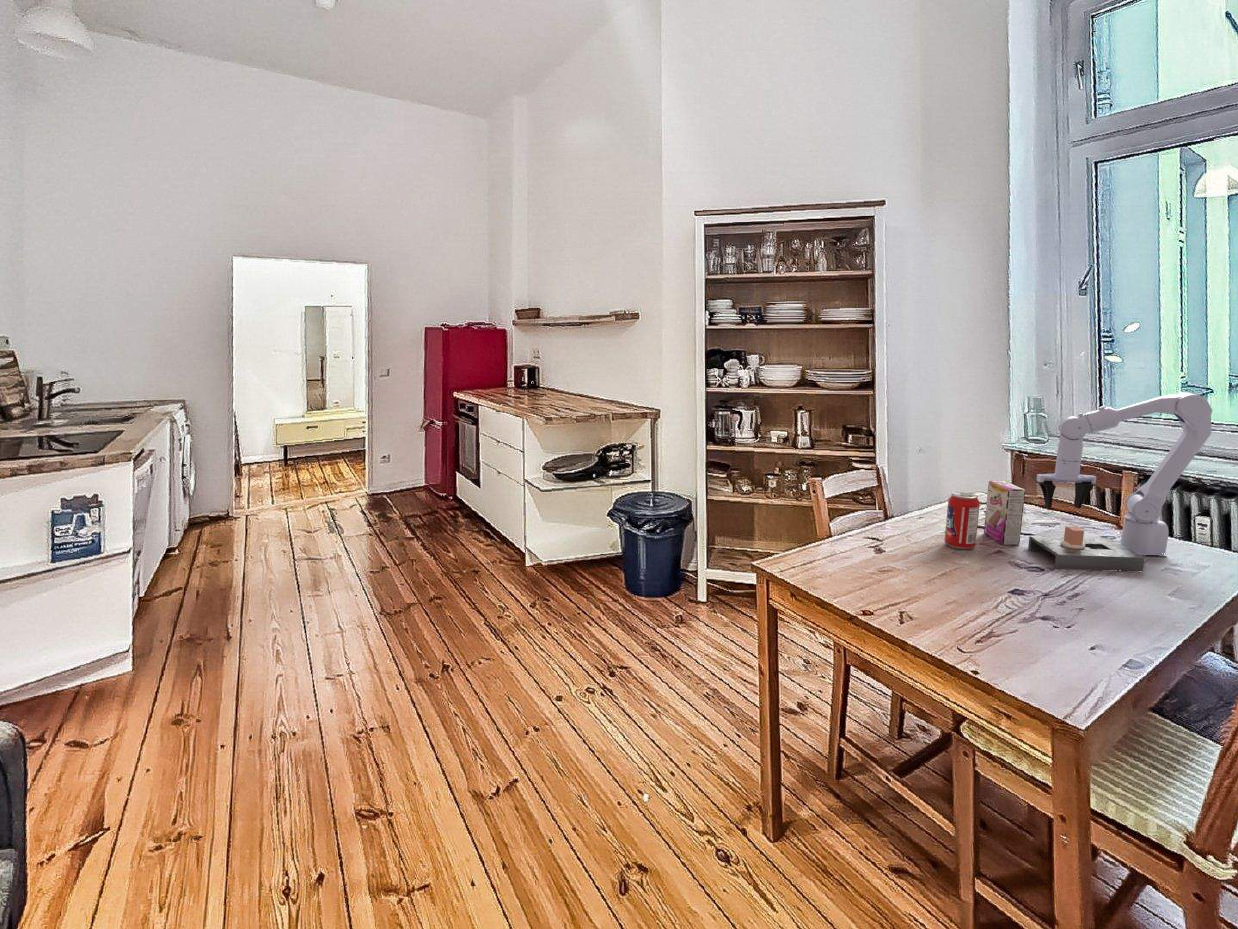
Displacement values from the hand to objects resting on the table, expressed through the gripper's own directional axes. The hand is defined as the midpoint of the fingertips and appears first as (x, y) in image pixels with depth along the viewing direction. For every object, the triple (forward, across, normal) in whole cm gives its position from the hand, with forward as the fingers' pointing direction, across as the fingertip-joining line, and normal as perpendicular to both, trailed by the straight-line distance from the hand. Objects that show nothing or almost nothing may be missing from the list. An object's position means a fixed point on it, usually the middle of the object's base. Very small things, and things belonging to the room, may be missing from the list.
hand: (1062, 507), depth 189 cm
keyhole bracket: (+10, +1, +15) cm, 18 cm away
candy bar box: (+11, +15, -1) cm, 18 cm away
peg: (+9, +4, +15) cm, 18 cm away
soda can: (+11, +29, +7) cm, 32 cm away
